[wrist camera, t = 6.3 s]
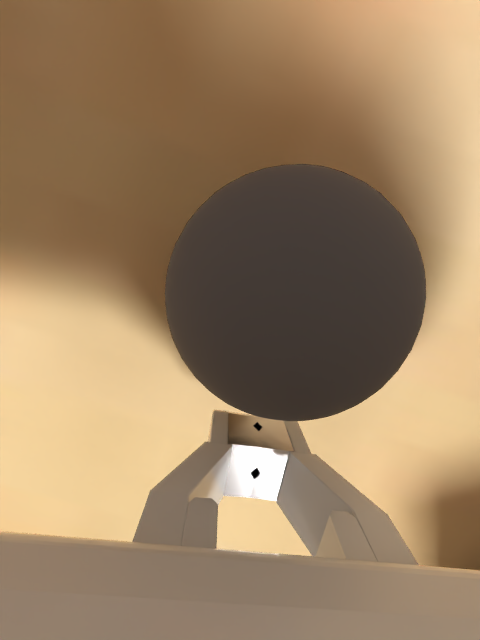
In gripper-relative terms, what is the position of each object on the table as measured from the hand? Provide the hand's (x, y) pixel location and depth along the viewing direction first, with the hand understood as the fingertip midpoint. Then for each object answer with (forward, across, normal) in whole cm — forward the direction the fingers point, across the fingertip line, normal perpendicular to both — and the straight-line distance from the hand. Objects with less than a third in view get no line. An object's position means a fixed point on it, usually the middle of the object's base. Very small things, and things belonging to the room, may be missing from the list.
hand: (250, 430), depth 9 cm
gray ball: (-1, 0, -5) cm, 5 cm away
